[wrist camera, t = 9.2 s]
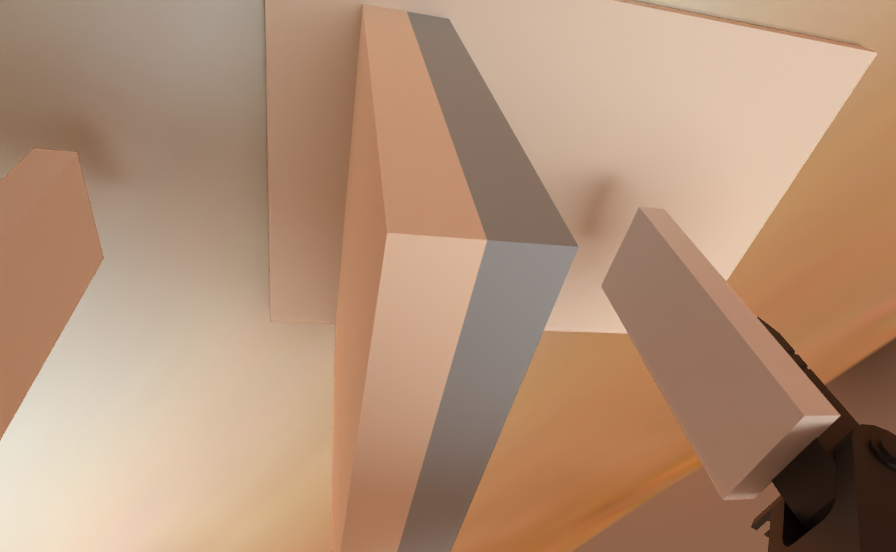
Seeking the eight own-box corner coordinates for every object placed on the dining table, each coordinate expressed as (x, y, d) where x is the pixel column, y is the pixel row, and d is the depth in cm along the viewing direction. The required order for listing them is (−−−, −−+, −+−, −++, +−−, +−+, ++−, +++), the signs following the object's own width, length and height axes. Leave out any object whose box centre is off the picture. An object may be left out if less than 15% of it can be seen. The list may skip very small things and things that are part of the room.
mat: (267, -73, 11) (263, -69, 11) (861, 46, 15) (878, 52, 15) (271, 308, 18) (270, 321, 17) (682, 324, 22) (690, 335, 21)
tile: (362, 3, 12) (387, 232, 5) (449, 18, 12) (578, 247, 6) (335, 324, 18) (329, 625, 11) (394, 326, 18) (423, 616, 12)
